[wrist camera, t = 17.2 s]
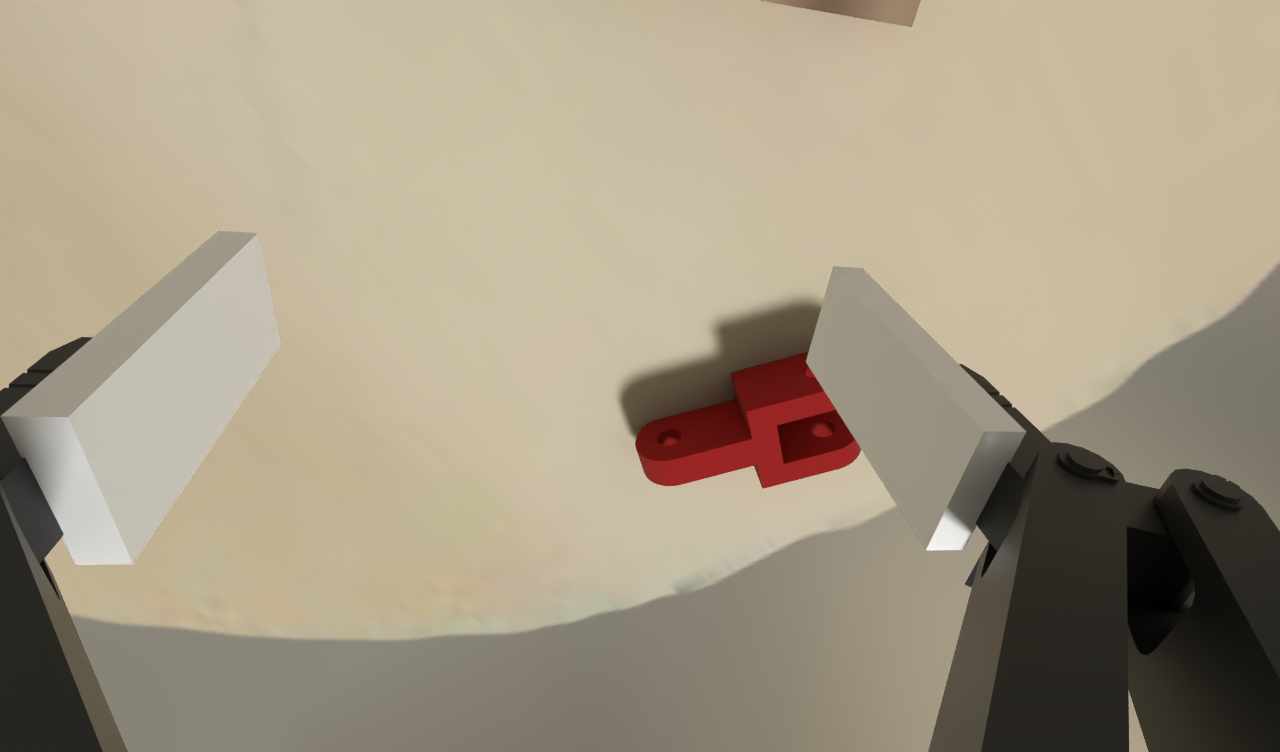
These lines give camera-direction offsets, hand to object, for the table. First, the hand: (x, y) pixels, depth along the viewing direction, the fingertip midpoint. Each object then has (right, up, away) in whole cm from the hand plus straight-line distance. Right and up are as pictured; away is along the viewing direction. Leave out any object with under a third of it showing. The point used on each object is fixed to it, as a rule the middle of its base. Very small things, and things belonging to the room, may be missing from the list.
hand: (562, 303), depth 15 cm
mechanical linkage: (+9, -4, +34) cm, 35 cm away
